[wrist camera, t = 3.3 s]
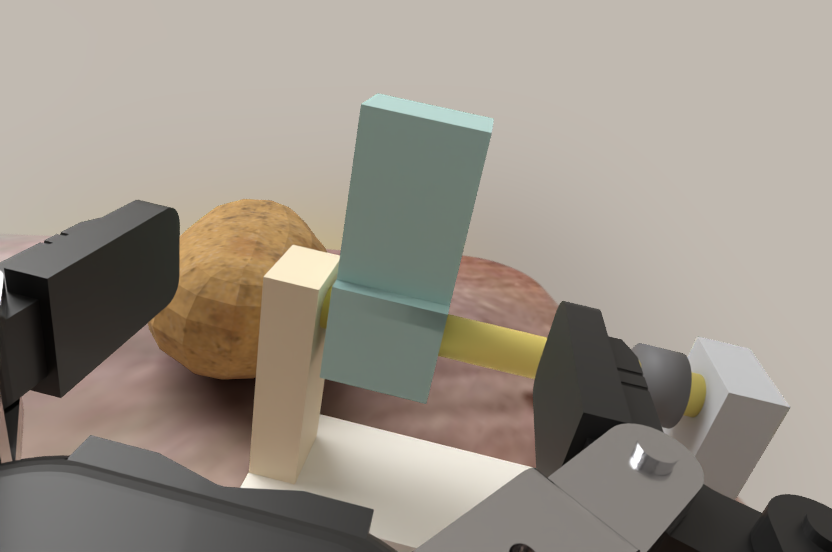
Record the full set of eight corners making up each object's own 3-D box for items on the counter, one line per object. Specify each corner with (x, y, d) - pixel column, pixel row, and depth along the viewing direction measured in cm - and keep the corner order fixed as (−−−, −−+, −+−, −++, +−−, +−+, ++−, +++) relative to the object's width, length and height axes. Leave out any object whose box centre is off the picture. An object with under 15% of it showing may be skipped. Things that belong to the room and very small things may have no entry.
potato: (326, 293, 41) (340, 187, 38) (325, 433, 29) (346, 294, 25) (181, 280, 39) (181, 166, 36) (114, 423, 27) (104, 271, 23)
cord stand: (231, 521, 23) (245, 296, 19) (284, 424, 29) (304, 231, 24) (676, 638, 22) (807, 431, 18) (645, 516, 28) (738, 332, 23)
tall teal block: (319, 377, 21) (356, 107, 17) (344, 328, 24) (381, 90, 20) (426, 403, 21) (490, 137, 17) (437, 350, 24) (494, 115, 20)
